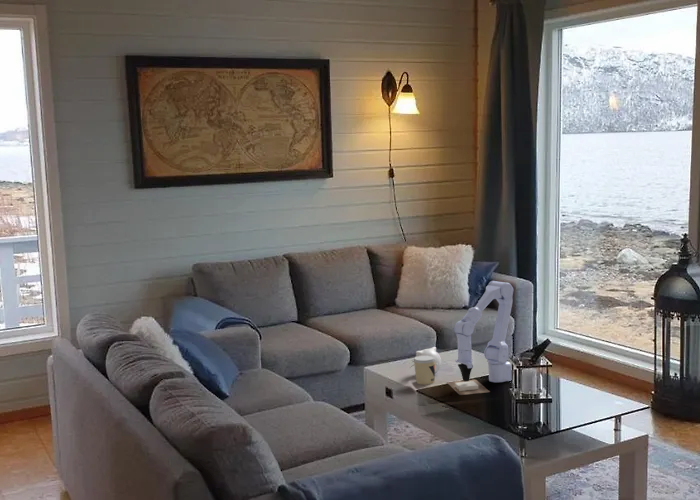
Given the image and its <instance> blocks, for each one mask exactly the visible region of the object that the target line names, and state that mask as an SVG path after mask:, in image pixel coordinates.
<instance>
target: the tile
mask: <svg viewBox="0 0 700 500" xmlns="http://www.w3.org/2000/svg"><path fill="white" fill-rule="evenodd" d="M455 387H456V388H457V389H458V390H459V391H465V390H475V389H478V385H477V384H476V383H475V382H474V381H469V382H459V383H455Z"/></svg>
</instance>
